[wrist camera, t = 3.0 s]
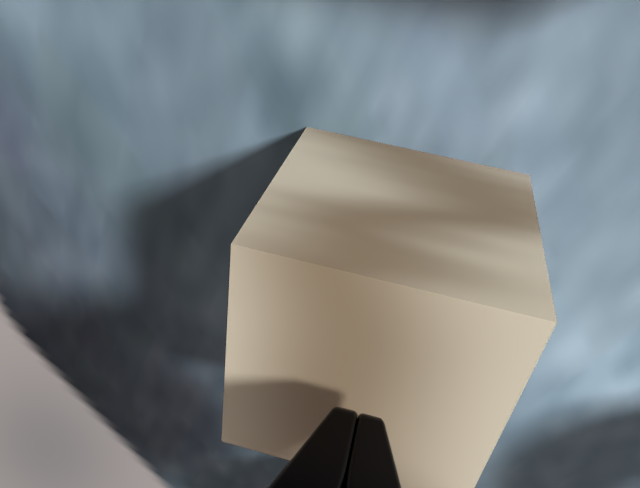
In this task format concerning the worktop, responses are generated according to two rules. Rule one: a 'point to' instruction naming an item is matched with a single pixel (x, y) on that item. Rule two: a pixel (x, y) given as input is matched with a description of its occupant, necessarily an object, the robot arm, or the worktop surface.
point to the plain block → (386, 304)
